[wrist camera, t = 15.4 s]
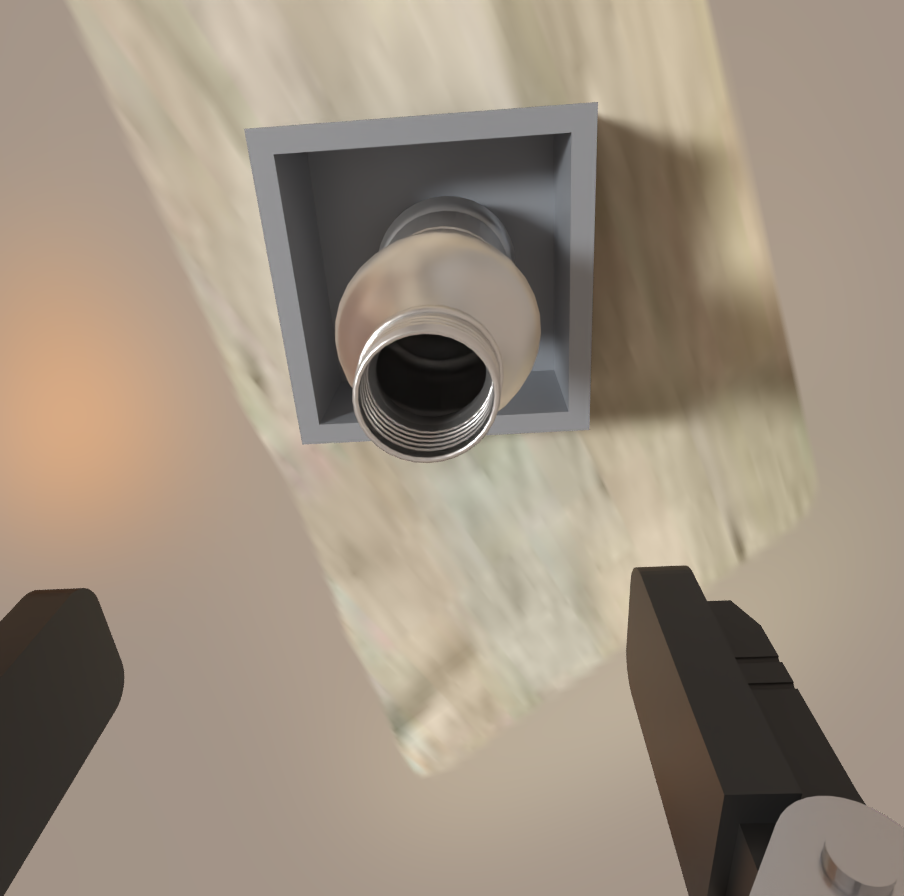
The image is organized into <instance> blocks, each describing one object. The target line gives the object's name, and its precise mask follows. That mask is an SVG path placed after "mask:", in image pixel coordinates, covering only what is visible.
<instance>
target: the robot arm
mask: <svg viewBox="0 0 904 896" xmlns="http://www.w3.org/2000/svg"><path fill="white" fill-rule="evenodd" d="M626 656H627V671H628V679H629V684H630V689H631V694H632V697H633V701H634V705H635V708H636V711H637V715H638V719H639V722H640V726H641V729H642V733H643V736H644V740H645V743H646V747H647V750H648V753H649V757H650V761H651V764H652V768H653V771H654V775H655V778H656V782H657V785H658V789H659V792H660V796H661V799H662V803H663V807H664V810H665V814H666V817H667V820H668V824H669V828H670V831H671V835H672V838H673V842H674V845H675V849H676V852H677V856H678V859H679V862H680V866H681V869H682V874H683V877H684V880H685V884H686V888H687V891H688V894H689V896H904V828H903V827H902V826H901V825H900V824H898V823H897V822H895V821H894V820H892V819H891V818H889V817H888V816H886V815H885V814H883V813H881V812H879V811H877V810H875V809H873V808H871V807H868V806H867V805H866V804H865V803H864V801H863V800H862V798H861V797H860V795H859V794H858V792H857V791H856V789H855V787H854V785H853V784H852V782H851V780H850V778H849V777H848V775H847V773H846V771H845V770H844V768H843V766H842V765H841V763H840V761H839V759H838V758H837V756H836V754H835V753H834V751H833V749H832V747H831V746H830V744H829V742H828V740H827V739H826V737H825V735H824V734H823V732H822V730H821V728H820V727H819V725H818V723H817V722H816V720H815V718H814V716H813V715H812V713H811V711H810V710H809V708H808V706H807V705H806V703H805V701H804V699H803V697H802V696H801V694H800V692H799V690H798V689H795V688H794V684H793V680H792V678H791V677H790V675H789V673H788V672H787V670H786V668H785V666H784V665H783V663H782V662H779V659H778V654H777V653H776V651H775V649H774V647H773V646H772V644H771V642H770V641H769V639H768V637H767V635H766V634H765V632H764V630H763V629H762V627H761V625H759V624H758V623H757V622H756V621H755V620H754V619H752V618H751V617H750V616H749V615H748V614H746V613H745V612H744V611H742V609H740V608H739V607H738V606H737V605H735V604H734V603H733V602H732V601H730V600H729V601H707V600H706V598H705V596H704V594H703V592H702V590H701V588H700V586H699V584H698V582H697V580H696V578H695V576H694V574H693V572H692V570H691V569H690V568H689V567H688V566H661V567H636V568H634V569H633V571H632V575H631V584H630V600H629V616H628V631H627V648H626ZM123 687H124V669H123V664H122V661H121V659H120V656H119V653H118V651H117V648H116V645H115V643H114V640H113V638H112V635H111V632H110V630H109V627H108V624H107V622H106V619H105V616H104V614H103V611H102V609H101V606H100V604H99V601H98V599H97V597H96V595H95V594H94V593H93V592H92V591H91V590H89V589H86V588H76V589H53V590H34V591H32V592H30V593H28V594H26V595H25V596H24V597H23V598H22V599H21V600H20V601H19V602H18V603H17V604H16V605H15V607H14V608H13V609H12V610H11V611H10V612H9V613H8V614H7V615H6V616H5V617H4V618H3V620H1V621H0V896H4V894H5V892H6V891H7V889H8V888H9V886H10V884H11V883H12V881H13V879H14V878H15V876H16V874H17V873H18V871H19V869H20V868H21V866H22V864H23V863H24V861H25V859H26V858H27V856H28V854H29V853H30V851H31V850H32V848H33V846H34V844H35V843H36V841H37V839H38V838H39V836H40V834H41V833H42V831H43V829H44V828H45V826H46V825H47V823H48V821H49V820H50V818H51V816H52V815H53V813H54V811H55V810H56V808H57V806H58V805H59V803H60V801H61V800H62V798H63V797H64V795H65V793H66V792H67V790H68V788H69V787H70V785H71V783H72V782H73V780H74V778H75V777H76V775H77V773H78V771H79V770H80V768H81V767H82V765H83V763H84V762H85V760H86V758H87V757H88V755H89V753H90V752H91V750H92V748H93V747H94V745H95V744H96V742H97V740H98V738H99V737H100V735H101V734H102V732H103V730H104V729H105V727H106V725H107V724H108V722H109V720H110V719H111V717H112V715H113V713H114V712H115V710H116V709H117V707H118V705H119V702H120V700H121V696H122V692H123Z"/></svg>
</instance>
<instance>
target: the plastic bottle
mask: <svg viewBox="0 0 904 896" xmlns="http://www.w3.org/2000/svg"><path fill="white" fill-rule="evenodd" d="M540 336H541V325H540V312H539V309H538V305H537V302H536V298H535V295H534V293H533V291H532V289H531V287H530V285H529V283H528V282H527V280H526V278H525V276H524V275H523V274H522V273H521V272H520V270H519V269H518V268H517V267H516V266H515V256H514V249H513V245H512V242H511V238H510V236H509V234H508V232H507V230H506V229H505V227H504V225H503V224H502V223H501V221H500V220H499V219H498V218H497V217H496V215H494V214H493V213H492V212H491V211H489V210H488V209H487V208H486V207H484V206H482V205H480V204H478V203H476V202H475V201H473V200H469V199H465V198H462V197H456V196H440V197H433V198H429V199H426V200H423V201H421V202H418V203H416V204H414V205H413V206H411V207H409V208H408V209H406V210H405V211H403V212H402V213H401V214H400V215H399V216H398V217H397V218H396V219H395V220H394V221H393V223H392V224H391V225H390V227H389V228H388V230H387V231H386V233H385V235H384V237H383V240H382V242H381V244H380V248H379V252H377V253H376V254H374V255H373V256H372V257H371V258H370V259H369V260H368V261H367V262H366V263H365V264H363V265H362V266H361V267H360V268H359V270H358V271H357V272H356V274H355V275H354V276H353V278H352V279H351V281H350V282H349V283H348V285H347V287H346V289H345V292H344V294H343V296H342V298H341V301H340V303H339V307H338V312H337V317H336V321H335V343H336V348H337V353H338V358H339V361H340V363H341V366H342V368H343V371H344V373H345V375H346V378H347V380H348V382H349V384H350V386H351V387H352V388H353V390H352V402H353V407H354V412H355V416H356V418H357V420H358V423H359V425H360V427H361V428H362V430H363V431H364V433H365V434H366V436H367V437H368V438H369V439H370V440H371V441H372V442H373V443H374V444H375V445H376V446H377V447H379V448H380V449H382V450H383V451H385V452H386V453H388V454H390V455H392V456H395V457H397V458H400V459H403V460H407V461H411V462H420V463H432V462H441V461H445V460H448V459H452V458H455V457H457V456H459V455H461V454H463V453H465V452H467V451H468V450H470V449H471V448H472V447H474V446H475V445H476V444H478V443H479V442H480V441H481V440H482V438H483V437H484V436H485V435H486V434H487V433H488V431H489V429H490V428H491V426H492V424H493V423H494V421H495V418H496V415H497V413H498V411H499V410H501V409H502V408H503V407H505V406H506V405H507V403H508V402H509V401H510V400H511V399H512V398H513V397H514V396H515V395H516V393H517V392H518V391H519V390H520V388H521V387H522V385H523V384H524V382H525V380H526V379H527V377H528V375H529V374H530V372H531V370H532V368H533V365H534V362H535V360H536V357H537V354H538V350H539V343H540Z"/></svg>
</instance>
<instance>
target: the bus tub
mask: <svg viewBox="0 0 904 896" xmlns="http://www.w3.org/2000/svg"><path fill="white" fill-rule="evenodd" d="M597 115H598V102H592V103H579V104H566V105H553V106H540V107H527V108H513V109H500V110H487V111H474V112H461V113H448V114H435V115H421V116H408V117H395V118H382V119H369V120H356V121H342V122H329V123H316V124H303V125H290V126H277V127H263V128H250V129H244V130H245V136H246V141H247V147H248V152H249V158H250V163H251V168H252V174H253V179H254V185H255V190H256V196H257V201H258V206H259V212H260V217H261V223H262V228H263V233H264V239H265V244H266V250H267V255H268V261H269V266H270V271H271V277H272V282H273V288H274V293H275V299H276V304H277V309H278V315H279V320H280V326H281V331H282V337H283V342H284V347H285V353H286V358H287V364H288V369H289V375H290V380H291V385H292V391H293V396H294V402H295V407H296V412H297V418H298V423H299V429H300V434H301V440H302V444H320V443H340V442H360V441H371V440H370V439H369V438H368V437H367V436H366V434H365V433H364V431H363V430H362V428H361V427H360V425H359V423H358V420H357V418H356V416H355V412H354V407H353V402H352V390H353V388H352V387H351V386H350V384H349V382H348V380H347V378H346V375H345V373H344V371H343V368H342V366H341V363H340V361H339V358H338V353H337V348H336V343H335V321H336V317H337V312H338V307H339V303H340V301H341V298H342V296H343V294H344V292H345V289H346V287H347V285H348V283H349V282H350V281H351V279H352V278H353V276H354V275H355V274H356V272H357V271H358V270H359V268H360V267H361V266H362V265H363V264H365V263H366V262H367V261H368V260H369V259H370V258H371V257H372V256H373V255H374V254H376V253H377V252H379V248H380V244H381V242H382V240H383V237H384V235H385V233H386V231H387V230H388V228H389V227H390V225H391V224H392V223H393V221H394V220H395V219H396V218H397V217H398V216H399V215H400V214H401V213H402V212H403V211H405V210H406V209H408V208H409V207H411V206H413V205H414V204H416V203H418V202H421V201H423V200H426V199H429V198H433V197H440V196H456V197H462V198H465V199H469V200H473V201H475V202H476V203H478V204H480V205H482V206H484V207H486V208H487V209H488V210H489V211H491V212H492V213H493V214H494V215H496V217H497V218H498V219H499V220H500V221H501V223H502V224H503V225H504V227H505V229H506V230H507V232H508V234H509V236H510V238H511V242H512V245H513V249H514V256H515V266H516V267H517V268H518V269H519V270H520V272H521V273H522V274H523V275H524V276H525V278H526V280H527V282H528V283H529V285H530V287H531V289H532V291H533V293H534V295H535V298H536V302H537V305H538V309H539V312H540V325H541V336H540V343H539V350H538V354H537V357H536V360H535V362H534V365H533V368H532V370H531V372H530V374H529V375H528V377H527V379H526V380H525V382H524V384H523V385H522V387H521V388H520V390H519V391H518V392H517V393H516V395H515V396H514V397H513V398H512V399H511V400H510V401H509V402H508V403H507V405H506V406H505V407H503V408H502V409H501V410H499V411H498V413H497V415H496V418H495V421H494V423H493V424H492V426H491V428H490V429H489V431H488V433H487V434H486V435H497V434H517V433H537V432H556V431H576V430H589V425H590V386H591V348H592V309H593V270H594V231H595V192H596V154H597Z"/></svg>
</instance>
